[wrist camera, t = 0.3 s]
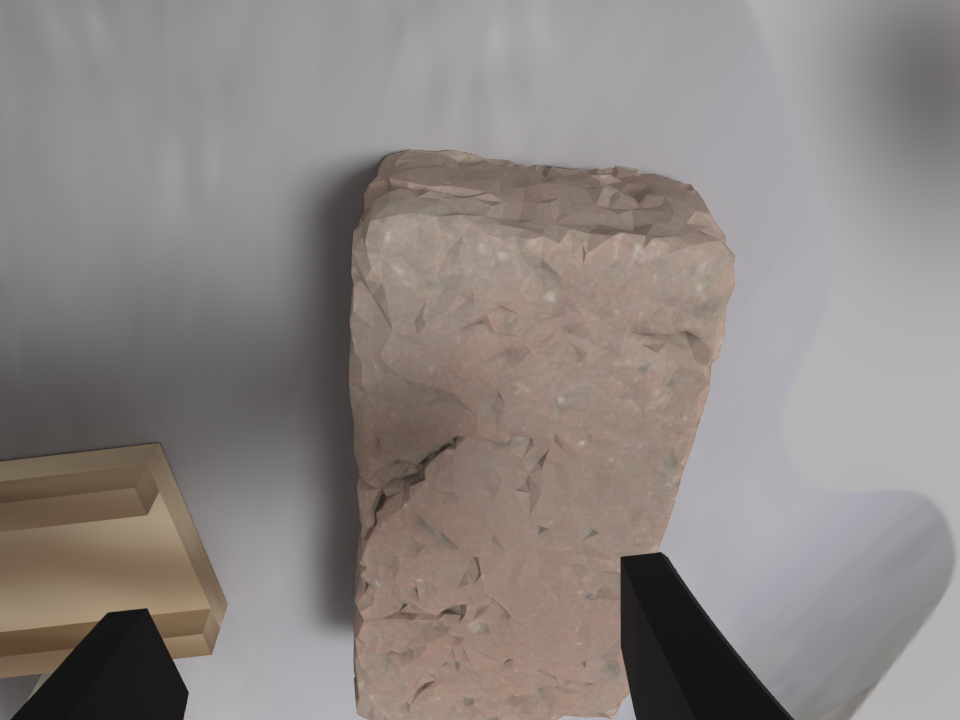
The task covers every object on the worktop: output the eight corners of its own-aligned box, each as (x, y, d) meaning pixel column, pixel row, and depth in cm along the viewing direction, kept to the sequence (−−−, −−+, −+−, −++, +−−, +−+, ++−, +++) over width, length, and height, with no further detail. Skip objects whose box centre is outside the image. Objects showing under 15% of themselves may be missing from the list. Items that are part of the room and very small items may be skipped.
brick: (363, 145, 17) (339, 209, 13) (698, 166, 18) (773, 233, 14) (367, 609, 26) (353, 735, 22) (595, 612, 26) (623, 735, 22)
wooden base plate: (227, 604, 25) (211, 654, 23) (-87, 640, 25) (-126, 692, 23) (159, 443, 21) (134, 487, 19) (-208, 485, 21) (-264, 534, 19)
